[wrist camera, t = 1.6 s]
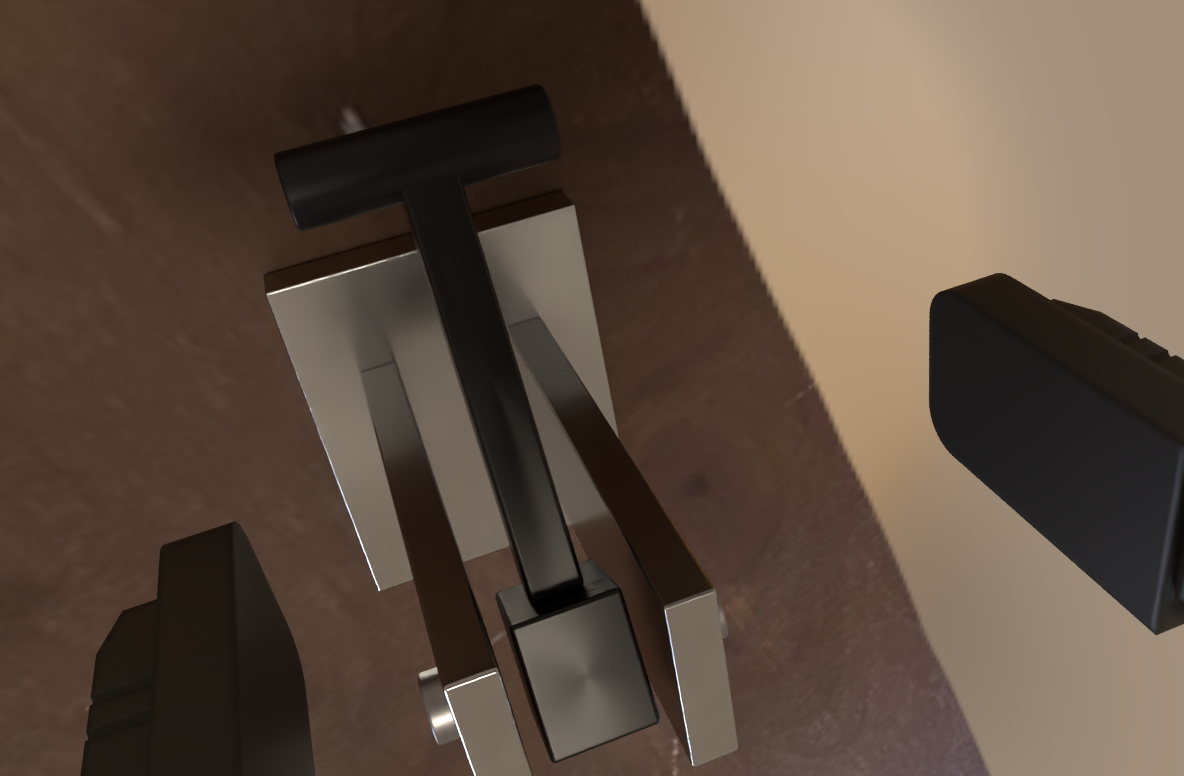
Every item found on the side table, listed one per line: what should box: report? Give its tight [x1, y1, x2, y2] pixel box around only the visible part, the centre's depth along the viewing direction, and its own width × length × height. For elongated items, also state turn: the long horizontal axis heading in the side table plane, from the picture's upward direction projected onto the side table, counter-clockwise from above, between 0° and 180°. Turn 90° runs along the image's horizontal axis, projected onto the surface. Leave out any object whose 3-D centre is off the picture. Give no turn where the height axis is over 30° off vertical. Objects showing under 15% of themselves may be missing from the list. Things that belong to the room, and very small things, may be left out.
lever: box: [274, 84, 660, 763], centre depth 20 cm, size 12×5×2 cm, turn 10°
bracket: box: [264, 191, 738, 776], centre depth 24 cm, size 10×8×13 cm
